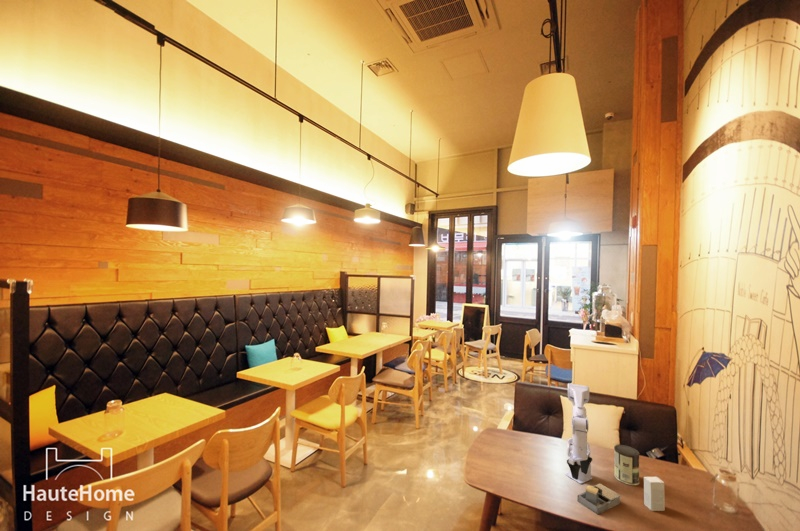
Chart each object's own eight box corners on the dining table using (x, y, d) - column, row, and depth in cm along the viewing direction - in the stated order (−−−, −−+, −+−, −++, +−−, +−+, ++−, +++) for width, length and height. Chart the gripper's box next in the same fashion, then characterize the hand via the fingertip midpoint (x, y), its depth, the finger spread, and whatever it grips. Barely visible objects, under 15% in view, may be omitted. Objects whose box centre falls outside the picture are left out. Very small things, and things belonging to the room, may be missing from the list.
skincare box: (656, 504, 145) (656, 476, 145) (665, 511, 140) (665, 482, 141) (643, 504, 144) (643, 476, 145) (651, 511, 140) (651, 482, 140)
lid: (599, 484, 153) (599, 480, 153) (620, 496, 145) (620, 492, 145) (590, 488, 149) (590, 484, 150) (610, 501, 141) (610, 496, 142)
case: (599, 491, 152) (599, 485, 152) (619, 503, 144) (619, 497, 144) (577, 501, 145) (577, 495, 145) (597, 514, 137) (597, 508, 137)
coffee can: (633, 474, 166) (633, 445, 167) (643, 487, 156) (643, 456, 157) (610, 471, 168) (610, 443, 169) (619, 483, 158) (619, 453, 159)
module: (587, 498, 146) (588, 484, 146) (598, 503, 143) (598, 489, 143) (585, 503, 143) (585, 489, 143) (596, 507, 140) (596, 493, 140)
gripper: (579, 436, 155) (579, 466, 155) (562, 445, 147) (561, 476, 147) (595, 443, 149) (594, 474, 149) (577, 452, 141) (577, 484, 141)
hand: (579, 475), depth 148 cm, fingers open, 7 cm apart
